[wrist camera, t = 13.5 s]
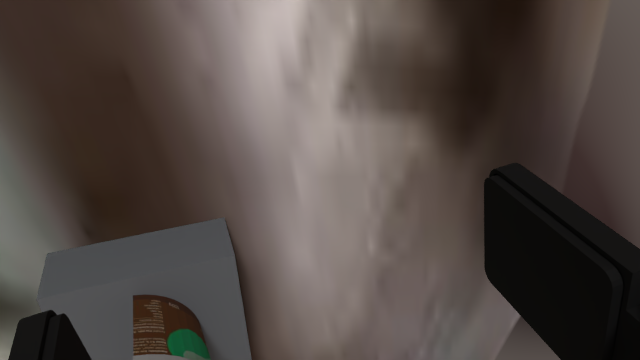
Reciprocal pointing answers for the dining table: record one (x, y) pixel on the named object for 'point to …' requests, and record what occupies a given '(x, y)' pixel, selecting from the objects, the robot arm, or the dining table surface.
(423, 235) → the dining table surface
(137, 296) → the food container
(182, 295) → the grey block
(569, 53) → the dining table surface
